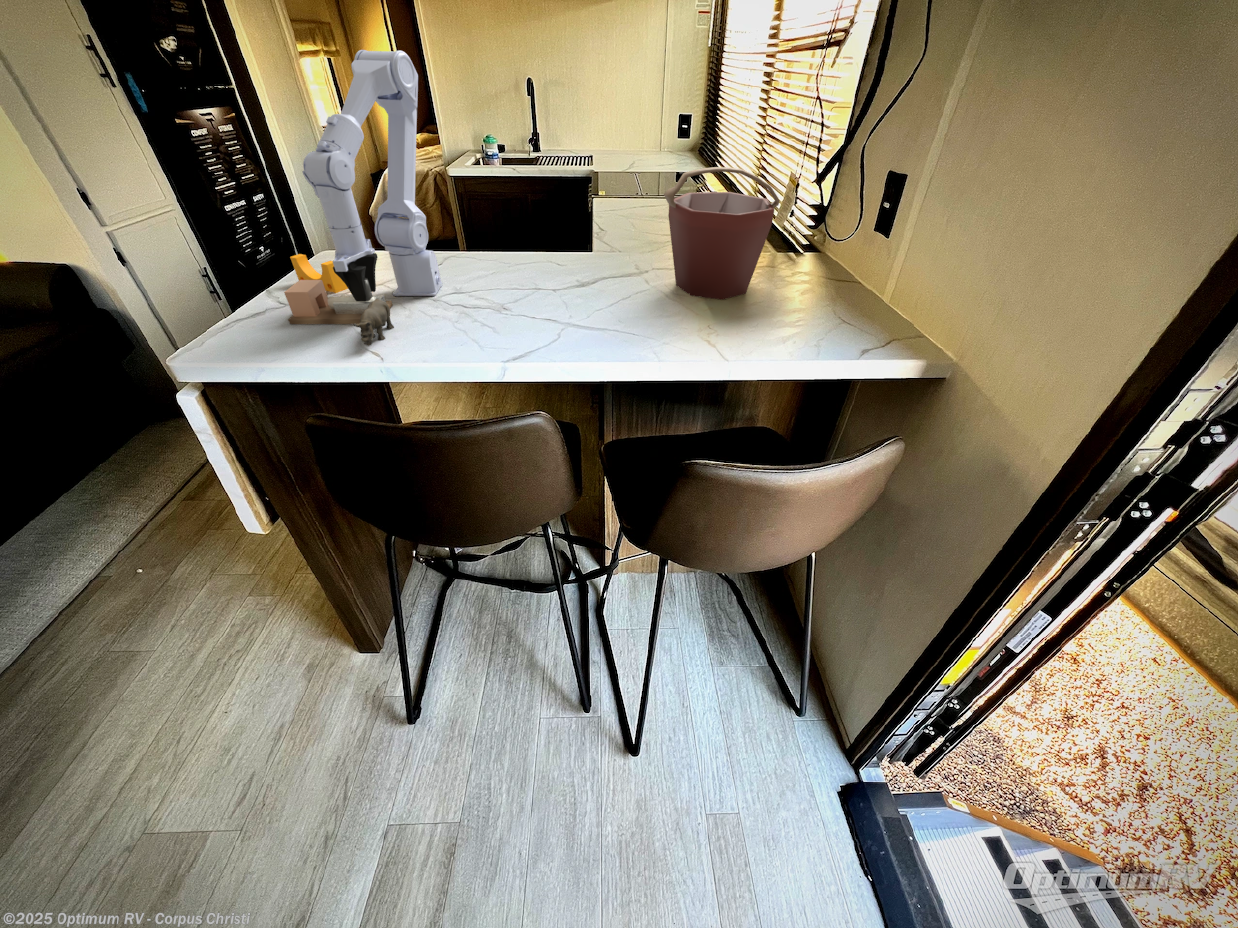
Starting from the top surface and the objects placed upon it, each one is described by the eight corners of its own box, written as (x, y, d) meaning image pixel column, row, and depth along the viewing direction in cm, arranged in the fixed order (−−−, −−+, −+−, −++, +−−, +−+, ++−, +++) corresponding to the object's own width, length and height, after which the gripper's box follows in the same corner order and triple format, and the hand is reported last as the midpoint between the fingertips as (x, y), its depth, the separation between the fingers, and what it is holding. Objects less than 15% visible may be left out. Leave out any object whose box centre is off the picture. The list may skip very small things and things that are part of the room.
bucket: (650, 295, 119) (657, 173, 103) (671, 266, 135) (680, 157, 120) (758, 308, 113) (782, 181, 98) (766, 276, 130) (787, 164, 114)
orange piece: (351, 288, 120) (342, 259, 116) (336, 294, 117) (326, 265, 113) (316, 279, 124) (306, 252, 120) (300, 285, 121) (289, 257, 117)
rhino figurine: (353, 354, 94) (342, 323, 90) (377, 323, 104) (369, 294, 101) (376, 354, 94) (366, 323, 90) (398, 323, 105) (390, 294, 101)
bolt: (378, 306, 108) (370, 277, 104) (374, 310, 106) (366, 282, 102) (334, 306, 108) (325, 277, 104) (330, 310, 106) (320, 282, 102)
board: (392, 305, 112) (391, 300, 111) (377, 323, 104) (376, 319, 103) (310, 305, 111) (309, 300, 110) (289, 324, 103) (287, 319, 103)
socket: (330, 303, 109) (321, 280, 106) (316, 316, 104) (307, 292, 101) (308, 303, 109) (299, 280, 106) (293, 316, 104) (284, 292, 101)
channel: (386, 305, 109) (383, 295, 108) (379, 313, 105) (376, 303, 104) (344, 305, 109) (341, 295, 107) (336, 314, 105) (332, 303, 104)
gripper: (352, 236, 91) (374, 309, 100) (378, 216, 103) (396, 283, 111) (312, 235, 91) (337, 309, 100) (342, 215, 102) (363, 283, 111)
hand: (366, 296), depth 105 cm, fingers open, 5 cm apart
